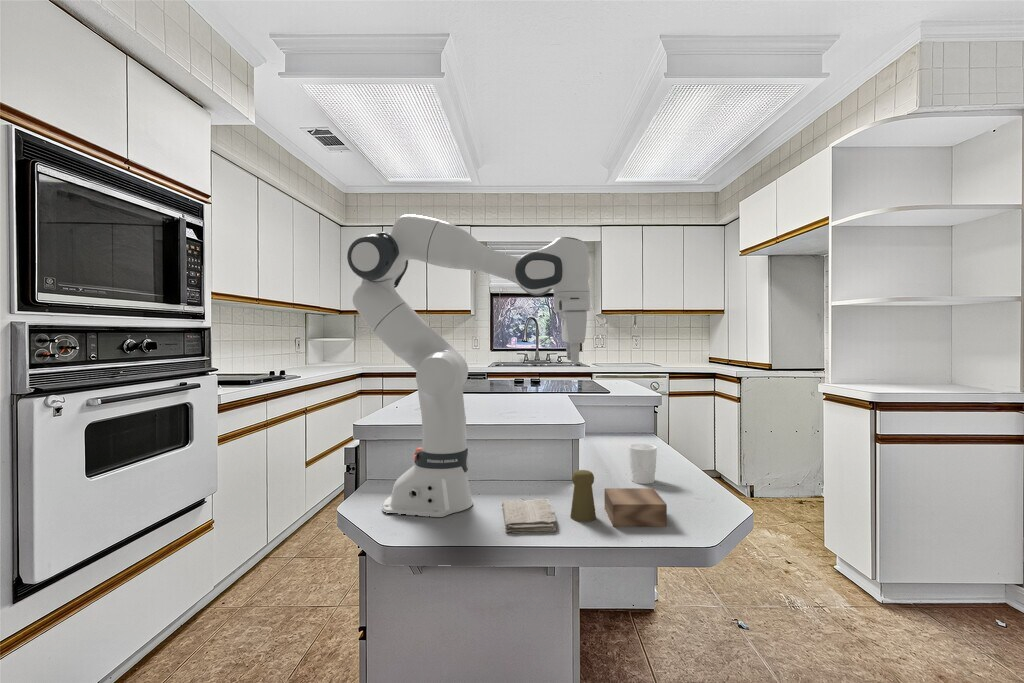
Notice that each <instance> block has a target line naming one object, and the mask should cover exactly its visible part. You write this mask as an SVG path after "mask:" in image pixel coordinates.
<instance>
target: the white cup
mask: <svg viewBox="0 0 1024 683" xmlns="http://www.w3.org/2000/svg"><path fill="white" fill-rule="evenodd" d="M657 448H658V447H657V446H656V445H653V444H649V443H648V444H647V443H635V444H634V443H633V444H629V445H628V452H629V453H628V454H629V456H628V457H629V471H630V481H631V482H633V483H634V484H635V483H636V484H643V485H649V484H653V483H655V477H656V469H657V465H656V464H657V453H658V452H657V451H658V450H657Z"/></svg>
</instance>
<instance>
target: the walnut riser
mask: <svg viewBox="0 0 1024 683" xmlns="http://www.w3.org/2000/svg"><path fill="white" fill-rule="evenodd" d="M667 508H668V507H667V503H666V502H665V500H664V499H663V498H662V497H661V496H660V495H659V493H658V492H657V491H656V490H655V488H650V487H649V488H645V487H644V488H643V487H642V488H641V487H640V488H637V487H635V488H634V487H633V488H627V487H624V488H622V487H621V488H620V487H619V488H618V487H617V488H614V487H613V488H611V487H610V488H606V487H605V488H604V510H606V511H605V512H607V513H606V514H608V515H607V516H608V518H609V521H610V523H611V525H612V527H613V528H614V527H620V528H621V527H625V528H626V527H628V528H629V527H635V528H636V527H667V524H668V522H667V520H668V518H667V513H668V512H667V511H668V510H667Z"/></svg>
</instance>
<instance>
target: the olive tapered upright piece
mask: <svg viewBox="0 0 1024 683" xmlns="http://www.w3.org/2000/svg"><path fill="white" fill-rule="evenodd" d="M571 481H572V483H573V493H572V501H571V510H570V514H569V515H570V516H569V517H570V519H571V520H573V521H576V522H582V523H584V522H585V523H588V522H593V521H595V520H596V519H597V515H596V508H595V499H594V492H593V484H594V482H595V476H594V474H593V472H592V471H590V470H587V469H578V470H575V471H573V472H572V475H571Z"/></svg>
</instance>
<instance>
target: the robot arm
mask: <svg viewBox="0 0 1024 683" xmlns="http://www.w3.org/2000/svg"><path fill="white" fill-rule="evenodd" d="M346 259H347V263H348V265H349V268H350V270H351V271H352V272H353V273H354V274H355V275H356V276H357V277H359V278H361V279H362V280H361V283H360V285H359V286H358V287H357V288H356V289H355V291H354V293H353V295H352V304H353V307H354V308H355V309H356V312H357V313H358V314H359V316H360V317H361V319H362V320H363V321H364V322H365V324H366V326H368V328H369V329H370V330H372V332H373V333H374V334H375V335H376V336H377V337H378V338H379V339H380V341H382V342H383V343H384V344H385V346H387V348H388V349H390V350H391V352H392V353H394V355H395V356H397V357H398V358H400V359H401V360H403V361H404V362H405V363H407V364H408V365H409V366H410V367H411V368H413V369H414V371H416V373H415V374H416V375H415V380H416V383H417V393H418V401H419V407H420V413H421V430H422V431H421V432H422V434H421V437H422V438H421V439H422V442H421V444H422V447H421V446H420V447H417V449H415V452H414V454H413V455H414V456H413V460H414V465H412V466H411V467H410V468H409V469H407V470H405V471H404V473H403V474H402V475H400V476H399V477H398V478H397V479H396V480H395V482H394V484H393V488H392V492H391V495H390V496H388V497H387V498H386V499H385V500H384V501H383V504H382V508H383V510H384V511H385V512H389V513H398V514H397V515H401V514H406V516H415V515H418V517H429V516H430V517H433V518H443V517H446V516H448V515H450V514H455V513H459V512H462V511H465V510H468V509H469V508H470V507H472V506H473V505H474V500H473V498H472V494H471V489H470V483H469V477H468V470H469V465H470V464H469V463H470V462H469V449H468V448H467V416H466V410H465V400H464V386H463V385H464V384H465V383H466V381H467V379H468V378H469V377H468V376H469V367H468V363H467V361H466V358H464V357H463V356H462V355H461V353H459V352H458V351H457V350H456V348H454V347H453V346H452V345H451V344H450V343H449V342H448V341H447V340H446V339H444V338H443V337H442V336H441V335H440V334H439V333H437V332H436V331H435V330H434V329H433V328H432V327H430V326H429V324H428V323H427V322H426V321H425V320H424V319H423V318H422V317H421V316H420V315H419V314H418V313H417V312H416V311H415V310H414V308H412V307H411V305H410V304H408V303H407V302H406V300H405V299H404V298H403V297H402V296H400V294H399V293H398V292H397V290H396V288H397V287H398V286H399V285H400V282H401V281H402V279H403V277H404V275H405V274H406V272H407V269H408V267H409V260H414V261H415V260H416V261H420V262H422V263H423V262H424V263H426V264H430V265H432V266H435V267H436V266H437V267H442V268H448V269H455V270H456V269H457V270H467V271H476V272H482V273H486V274H487V275H488V274H489V275H492V276H495V277H498V278H501V279H505V280H507V281H511V282H513V283H514V284H516V285H518V286H519V287H520V288H521V289H522V290H523V291H524V292H526V293H527V294H529V295H531V296H536V297H537V296H538V297H539V296H544V295H546V294H548V293H550V292H551V291H552V290H553V313H558V315H559V316H558V318H559V320H560V319H561V341H562V342H564V343H565V350H566V359H567V361H570V362H571V363H573V364H574V363H579V362H580V351H581V350H580V349H581V344H583V343H585V340H586V334H587V322H588V321H587V320H588V319H587V318H588V312H590V311H591V288H590V285H589V280H590V275H591V270H590V269H591V268H590V267H591V266H590V265H591V264H590V253H589V249H588V246H587V244H586V243H585V242H584V241H583V240H581V239H578V238H577V237H576V238H575V237H572V236H560V237H557V238H556V239H555V240H553V241H552V242H551V243H550V244H548V245H545V246H543V247H541V248H539V249H537V250H533V251H530V252H527V253H524V254H523V255H522V256H520V257H517V256H514V255H510V254H507V253H504V252H501V251H498V250H495V249H492V248H490V247H488V246H486V245H484V244H483V243H481V242H480V241H479V240H478V239H476V238H475V237H474V236H472V235H471V234H470V233H469V232H468V231H467V230H465V229H463V228H461V227H459V226H457V225H455V224H452V223H450V222H447V221H444V220H441V219H437V218H433V217H428V216H423V215H418V214H417V215H416V214H404V215H401V216H399V217H398V218H397V219H396V220H395V221H394V223H393V225H392V228H391V231H390V233H388V232H386V231H381V232H377V233H373V234H367V235H364V236H361V237H359V238H357V239H355V240H354V241H352V243H351V244H350V246H349V248H348V250H347V258H346ZM383 510H382V511H383Z"/></svg>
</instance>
